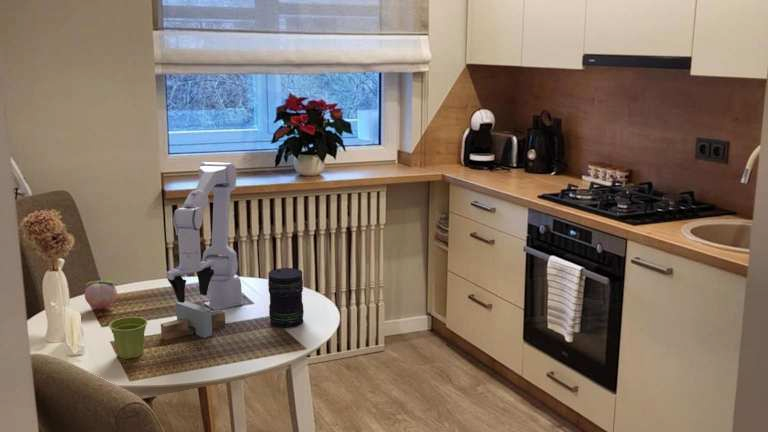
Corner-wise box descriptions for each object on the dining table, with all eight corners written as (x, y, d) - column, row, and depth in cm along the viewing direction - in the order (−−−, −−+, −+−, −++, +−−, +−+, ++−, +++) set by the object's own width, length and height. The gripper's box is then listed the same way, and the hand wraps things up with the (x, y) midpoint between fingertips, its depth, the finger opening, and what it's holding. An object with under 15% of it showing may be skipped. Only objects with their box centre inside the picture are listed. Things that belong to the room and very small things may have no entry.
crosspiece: (212, 335, 213) (210, 309, 211) (204, 337, 211) (203, 312, 209) (185, 325, 220) (183, 300, 218) (177, 327, 218) (175, 302, 216)
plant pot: (157, 350, 202) (154, 319, 200) (134, 364, 194) (132, 331, 192) (127, 345, 205) (124, 314, 203) (103, 359, 197) (101, 327, 195)
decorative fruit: (118, 303, 238) (116, 272, 236) (118, 311, 230) (115, 280, 228) (86, 306, 235) (83, 275, 233) (84, 315, 227) (82, 283, 225)
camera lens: (310, 322, 223) (310, 272, 219) (284, 331, 216) (283, 280, 212) (288, 314, 229) (287, 265, 226) (262, 322, 222) (260, 273, 219)
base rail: (221, 322, 222) (220, 309, 221) (225, 325, 220) (224, 312, 219) (161, 337, 211) (160, 323, 210) (165, 340, 209) (164, 326, 208)
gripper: (201, 243, 218) (204, 288, 221) (158, 254, 207) (161, 302, 210) (217, 247, 214) (220, 293, 217) (174, 258, 203) (177, 307, 206)
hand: (192, 298), depth 213 cm, fingers open, 7 cm apart
